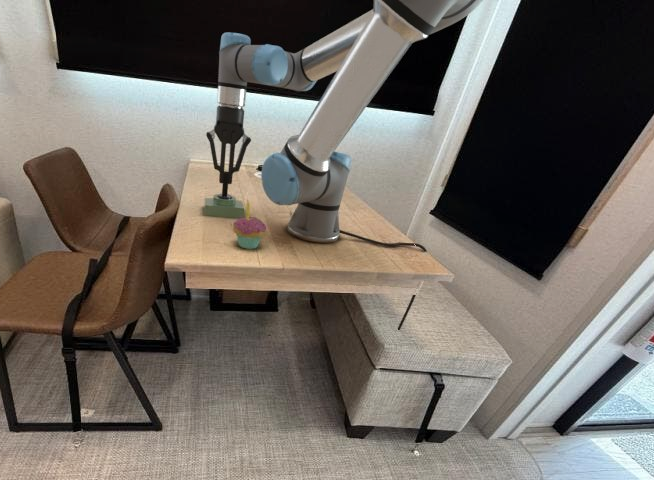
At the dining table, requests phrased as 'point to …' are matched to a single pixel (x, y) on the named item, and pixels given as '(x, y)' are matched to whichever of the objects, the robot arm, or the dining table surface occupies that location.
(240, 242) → the cupcake
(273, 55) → the robot arm
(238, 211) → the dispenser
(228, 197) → the pump
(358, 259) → the dining table surface
